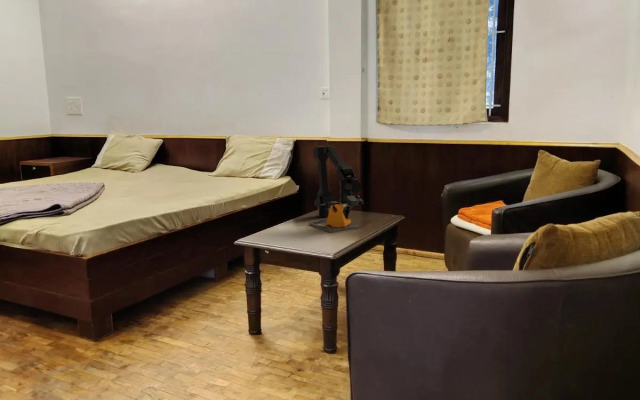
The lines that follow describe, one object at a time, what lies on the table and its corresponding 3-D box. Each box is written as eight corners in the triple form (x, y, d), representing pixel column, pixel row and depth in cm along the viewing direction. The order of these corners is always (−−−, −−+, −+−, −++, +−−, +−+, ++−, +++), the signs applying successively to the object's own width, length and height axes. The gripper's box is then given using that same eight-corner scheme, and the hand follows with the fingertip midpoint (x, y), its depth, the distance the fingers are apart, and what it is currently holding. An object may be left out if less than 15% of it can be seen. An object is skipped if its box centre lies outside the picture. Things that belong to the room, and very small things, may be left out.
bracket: (351, 223, 266) (350, 201, 263) (345, 228, 261) (343, 205, 257) (334, 221, 272) (332, 200, 269) (327, 225, 266) (325, 203, 263)
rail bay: (308, 224, 270) (308, 222, 270) (336, 220, 279) (336, 217, 278) (330, 232, 252) (329, 230, 252) (358, 227, 261) (358, 225, 261)
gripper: (338, 194, 254) (339, 224, 257) (369, 190, 264) (369, 219, 267) (327, 191, 264) (327, 220, 267) (356, 187, 273) (357, 215, 276)
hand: (346, 219), depth 269 cm, fingers closed, pressing on bracket
